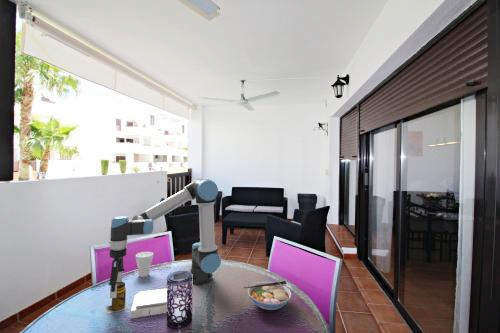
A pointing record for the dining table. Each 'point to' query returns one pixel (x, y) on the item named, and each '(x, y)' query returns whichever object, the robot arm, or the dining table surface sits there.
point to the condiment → (118, 299)
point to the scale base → (146, 309)
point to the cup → (144, 263)
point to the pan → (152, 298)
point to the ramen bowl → (269, 294)
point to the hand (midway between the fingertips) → (116, 290)
